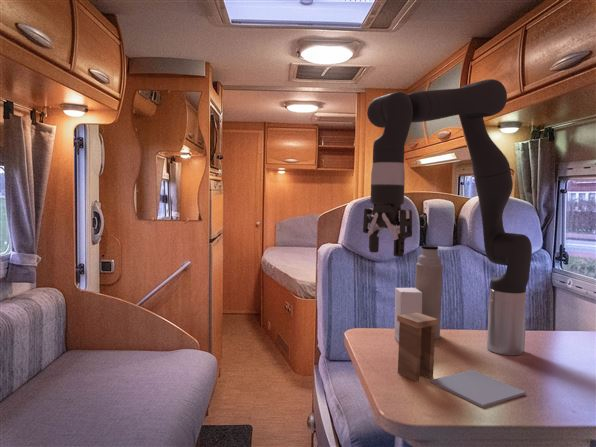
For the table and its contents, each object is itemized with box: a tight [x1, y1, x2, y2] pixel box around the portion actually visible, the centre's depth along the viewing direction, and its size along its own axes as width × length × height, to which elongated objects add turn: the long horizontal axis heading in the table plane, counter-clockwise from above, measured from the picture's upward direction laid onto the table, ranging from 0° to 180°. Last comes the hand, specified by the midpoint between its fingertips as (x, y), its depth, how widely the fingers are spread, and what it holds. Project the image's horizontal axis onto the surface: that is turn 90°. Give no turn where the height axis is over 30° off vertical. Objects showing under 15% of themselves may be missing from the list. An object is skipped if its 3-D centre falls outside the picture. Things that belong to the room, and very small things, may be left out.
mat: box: [430, 369, 526, 409], centre depth 101 cm, size 14×14×1 cm
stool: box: [397, 313, 438, 382], centre depth 107 cm, size 6×7×14 cm
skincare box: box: [394, 287, 422, 344], centre depth 132 cm, size 8×7×16 cm
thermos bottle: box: [414, 244, 444, 340], centre depth 139 cm, size 8×8×28 cm
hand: (385, 254), depth 103 cm, fingers open, 8 cm apart
